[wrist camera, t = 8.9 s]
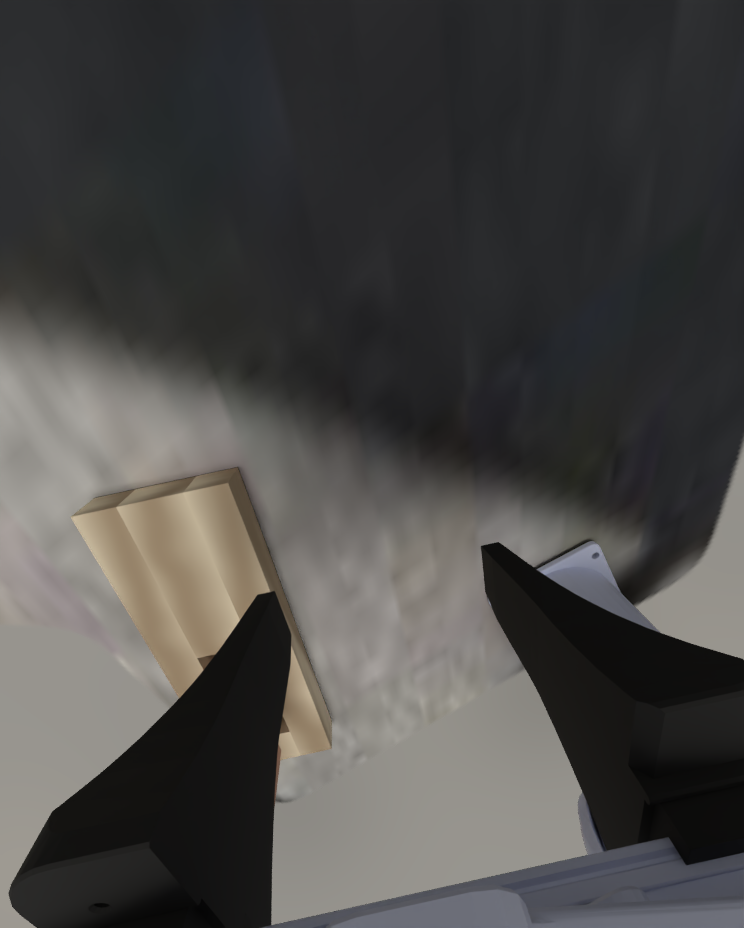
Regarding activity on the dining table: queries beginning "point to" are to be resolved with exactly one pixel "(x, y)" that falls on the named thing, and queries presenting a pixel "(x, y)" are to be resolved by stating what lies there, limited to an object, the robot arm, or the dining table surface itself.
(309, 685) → the rail
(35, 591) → the dining table surface
